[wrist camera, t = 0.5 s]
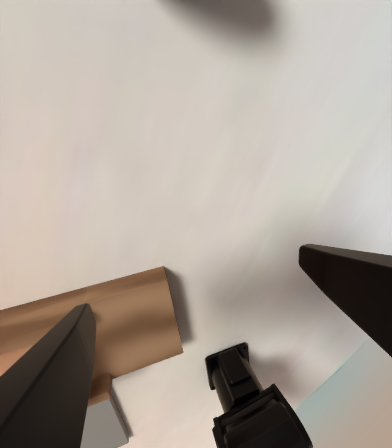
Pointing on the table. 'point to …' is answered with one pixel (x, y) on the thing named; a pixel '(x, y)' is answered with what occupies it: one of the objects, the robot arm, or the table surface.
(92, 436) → the mat
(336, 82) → the table surface
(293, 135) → the table surface
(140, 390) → the table surface
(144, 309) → the divided wooden tray
